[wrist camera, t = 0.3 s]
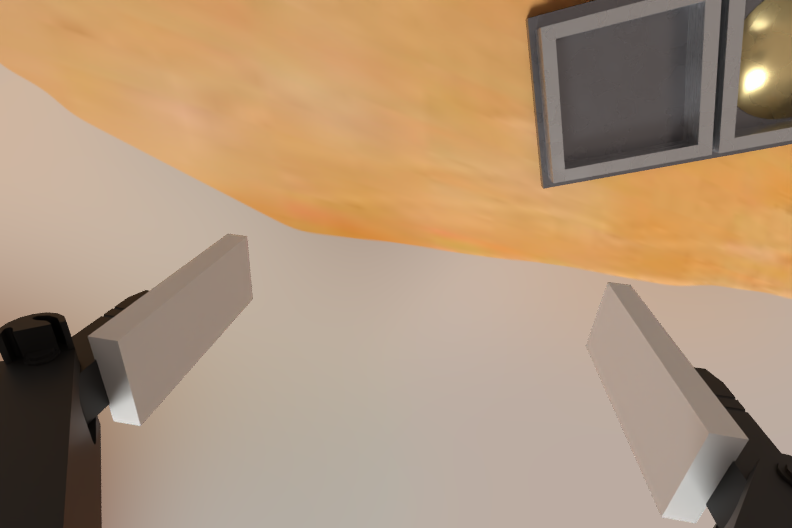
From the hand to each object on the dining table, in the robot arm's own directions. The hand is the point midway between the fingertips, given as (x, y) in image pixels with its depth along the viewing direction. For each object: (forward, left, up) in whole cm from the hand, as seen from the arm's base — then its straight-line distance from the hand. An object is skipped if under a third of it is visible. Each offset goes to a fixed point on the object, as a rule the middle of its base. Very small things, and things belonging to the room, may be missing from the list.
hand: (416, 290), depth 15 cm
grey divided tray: (-3, +21, -27) cm, 34 cm away
